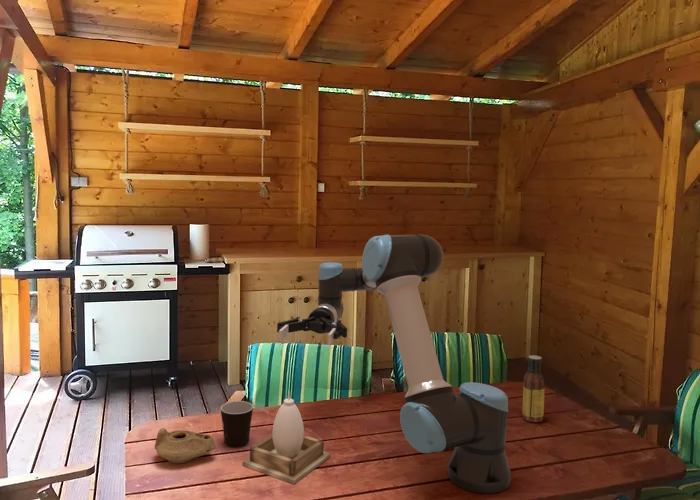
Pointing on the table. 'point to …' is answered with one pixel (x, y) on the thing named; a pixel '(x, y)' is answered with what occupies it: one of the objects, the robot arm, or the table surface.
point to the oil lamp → (182, 445)
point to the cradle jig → (286, 459)
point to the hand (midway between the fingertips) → (304, 337)
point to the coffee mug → (236, 423)
